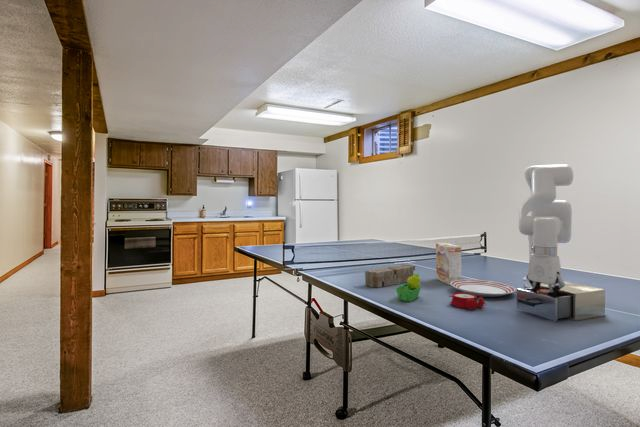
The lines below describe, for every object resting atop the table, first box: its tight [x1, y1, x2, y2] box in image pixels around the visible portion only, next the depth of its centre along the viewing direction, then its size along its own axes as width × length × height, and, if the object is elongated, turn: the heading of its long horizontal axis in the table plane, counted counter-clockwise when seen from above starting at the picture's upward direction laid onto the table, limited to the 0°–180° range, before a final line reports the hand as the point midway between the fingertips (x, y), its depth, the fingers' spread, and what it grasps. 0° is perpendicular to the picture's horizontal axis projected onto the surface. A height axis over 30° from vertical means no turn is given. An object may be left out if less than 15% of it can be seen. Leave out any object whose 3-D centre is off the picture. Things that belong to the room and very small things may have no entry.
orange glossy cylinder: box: [537, 289, 550, 296], centre depth 133 cm, size 5×5×4 cm
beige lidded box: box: [540, 280, 606, 322], centre depth 137 cm, size 16×17×10 cm
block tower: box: [364, 263, 416, 289], centre depth 189 cm, size 8×8×29 cm
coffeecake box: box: [435, 242, 462, 286], centre depth 190 cm, size 15×7×20 cm, turn 6°
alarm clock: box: [449, 291, 488, 311], centre depth 146 cm, size 10×6×15 cm
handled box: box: [516, 287, 573, 322], centre depth 133 cm, size 19×15×8 cm
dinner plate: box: [450, 279, 517, 298], centre depth 167 cm, size 27×27×3 cm
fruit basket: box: [395, 273, 422, 302], centre depth 157 cm, size 11×9×11 cm
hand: (544, 300), depth 133 cm, fingers closed on orange glossy cylinder, 5 cm apart
